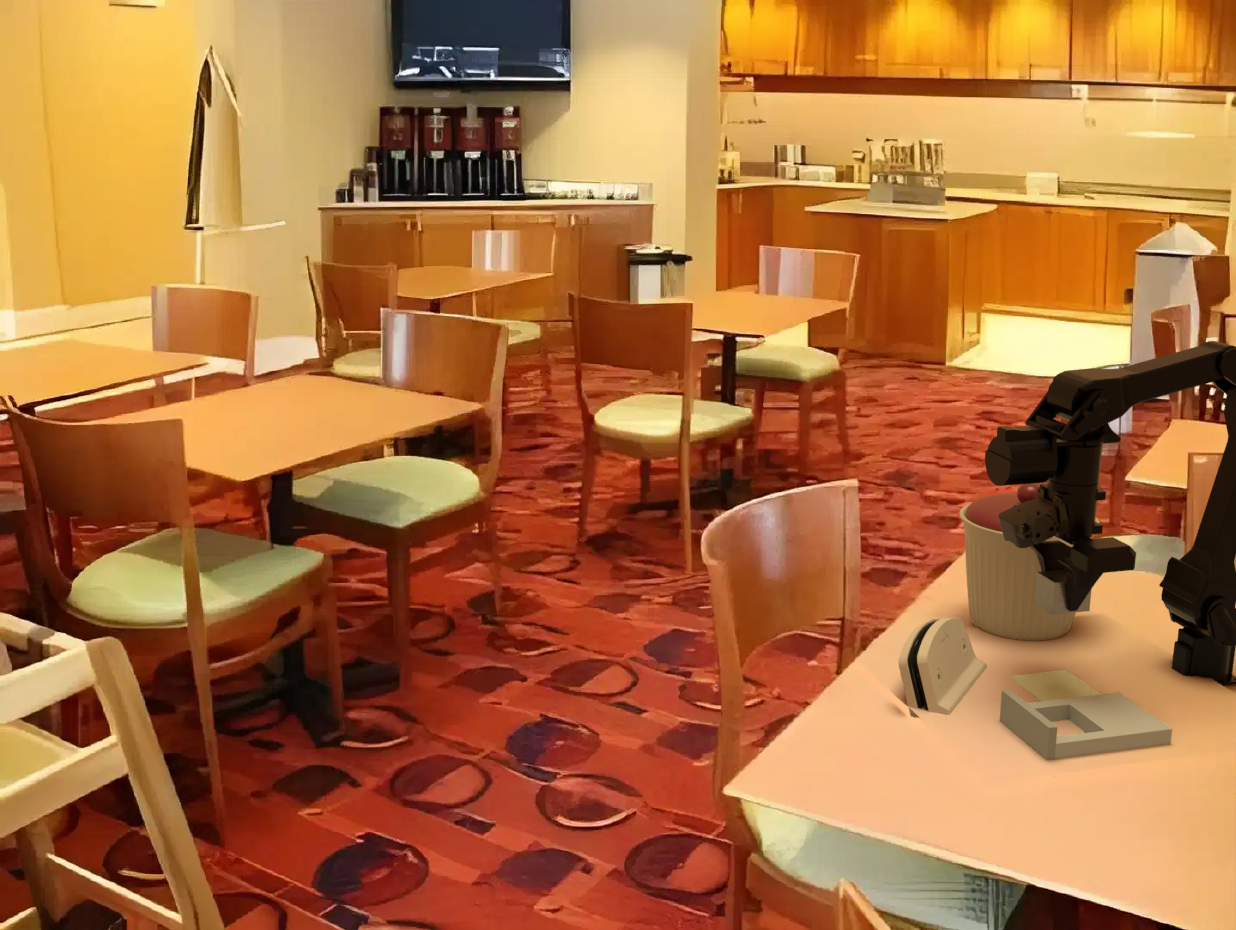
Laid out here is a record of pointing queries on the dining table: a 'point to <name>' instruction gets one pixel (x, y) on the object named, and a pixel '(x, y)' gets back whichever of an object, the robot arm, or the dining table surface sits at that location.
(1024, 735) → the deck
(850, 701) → the dining table surface
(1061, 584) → the block
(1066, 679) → the pad
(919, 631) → the beige half-round holder
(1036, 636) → the canister
